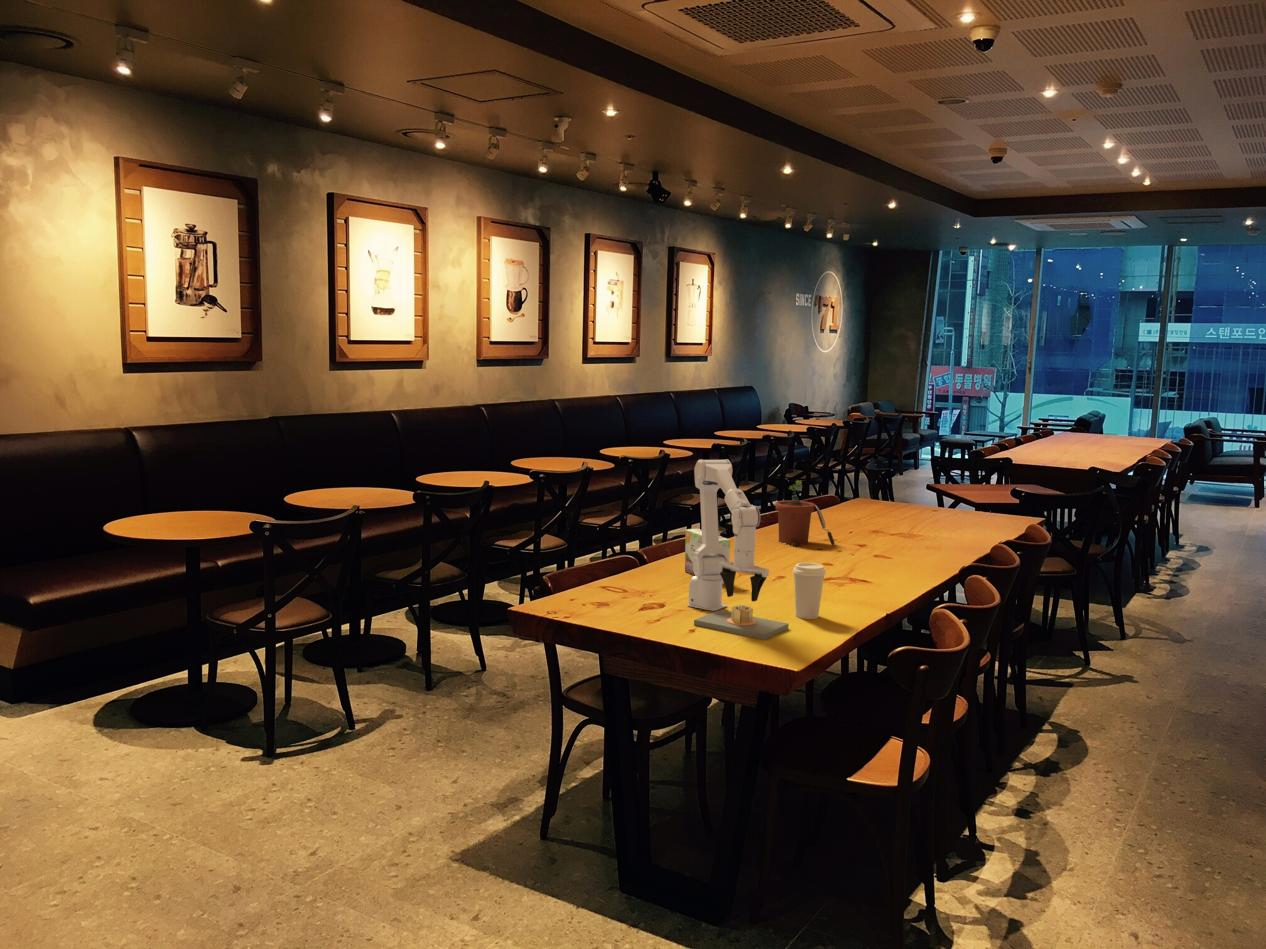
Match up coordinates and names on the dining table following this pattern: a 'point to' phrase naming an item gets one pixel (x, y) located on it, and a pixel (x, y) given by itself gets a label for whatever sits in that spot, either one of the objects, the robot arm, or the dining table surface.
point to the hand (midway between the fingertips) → (742, 598)
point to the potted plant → (797, 520)
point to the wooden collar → (741, 615)
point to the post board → (741, 625)
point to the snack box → (694, 542)
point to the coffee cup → (808, 589)
